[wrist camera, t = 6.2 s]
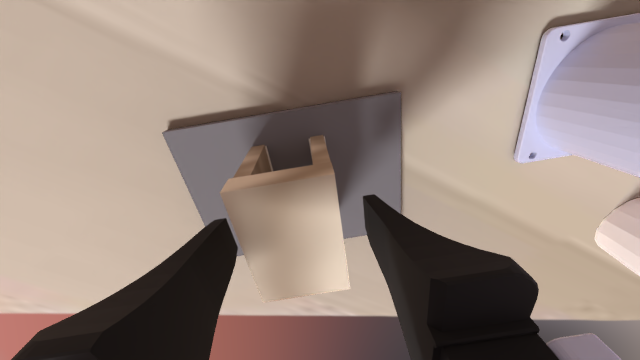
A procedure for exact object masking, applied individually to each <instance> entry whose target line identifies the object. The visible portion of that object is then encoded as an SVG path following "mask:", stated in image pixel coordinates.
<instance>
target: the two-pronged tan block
mask: <svg viewBox="0 0 640 360" xmlns="http://www.w3.org/2000/svg"><path fill="white" fill-rule="evenodd" d="M310 141H311V152H312V162H313V165H309V166H303V167H297V168H291V169H285V170H279V171H273V172H272V171H271V167H270V164H269V160H268V156H267V152H266V149H265V145H259V146H253V147H251V148H250V150H249V152H248V153H247V155H246V157H245V158H244V160H243V162H242V163H241V165H240V167H239V169H238V170H237V172H236V174H235V175H234V177H233V178H230V179H228V180H227V182H226V184H225V185H224V187H223V188H222V190H221V191H220V195H221V197H222V200H223V203H224V205H225V208H226V210H227V213H228V215H229V218H230V220H231V223H232V225H233V228H234V230H235V233H236V235H237V238H238V241H239V243H240V246H241V248H242V251H243V253H244V256H245V258H246V261H247V263H248V266H249V268H250V271H251V274H252V276H253V279H254V281H255V284H256V286H257V289H258V291H259V294H260V296H261V299H262V301H263V303H265V302H271V301H277V300H284V299H290V298H296V297H302V296H309V295H315V294H321V293H327V292H334V291H340V290H346V289H350V283H349V276H348V268H347V261H346V254H345V246H344V239H343V232H342V224H341V217H340V210H339V202H338V195H337V188H336V180H335V173H334V170H333V166H332V163H331V161H330V158H329V154H328V151H327V147H326V143H325V140H324V136H323V135H319V136H313V137H310Z"/></svg>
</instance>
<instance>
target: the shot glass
mask: <svg viewBox="0 0 640 360" xmlns="http://www.w3.org/2000/svg"><path fill="white" fill-rule="evenodd" d="M595 241H596V243H597V245H598V246H599V247H600V248H602V249H603V250H605V251H606V252H607V253H609V254H610V255H611V256H613V257H614V258H615V259H617V260H618V261H619V262H621V263H622V264H624V265H625V266H626V267H628V268H629V269H630V270H632V271H633V272H634V273H636V274H637V275H638V276H640V197H639V198H636V199H633V200H630V201H628V202H626V203H624V204H623V205H621V206H619V207H618V208H616V209H614V210H613V211H612V212H611V213H610V214H609V215H608V216H607V217H605V218H604V219H603V221H602V222H601V224H600V225H599V227H598V228H597V230H596V234H595Z"/></svg>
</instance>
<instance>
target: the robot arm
mask: <svg viewBox="0 0 640 360" xmlns="http://www.w3.org/2000/svg"><path fill="white" fill-rule="evenodd" d="M562 33H563V37H562V39H561V40H560V36H561V34H562ZM530 154H531V155H530ZM529 155H530V156H529ZM570 155H576V156H579V157H582V158H584V159H587V160H590V161H593V162H596V163H599V164H602V165H605V166H607V167H610V168H613V169H616V170H619V171H622V172H625V173H628V174H631V175H633V176H636V177H639V178H640V13H636V14H630V15H624V16H618V17H612V18H606V19H600V20H594V21H589V22H583V23H577V24H571V25H565V26H559V27H553V28H550V29H548V30H547V31H546V32H545V33H544V35H543V36H542V39H541V42H540V47H539V51H538V55H537V60H536V64H535V68H534V72H533V77H532V81H531V85H530V90H529V94H528V98H527V103H526V107H525V111H524V115H523V120H522V124H521V128H520V133H519V137H518V141H517V145H516V150H515V154H514V160H515V161H517V162H519V163H527V162H533V161H539V160H546V159H552V158H558V157H564V156H570ZM363 207H364V219H365V229H366V232H367V236H368V239H369V242H370V245H371V248H372V250H373V252H374V254H375V257H376V259H377V261H378V264H379V266H380V268H381V271H382V273H383V275H384V277H385V280H386V282H387V285H388V287H389V290H390V293H391V296H392V299H393V302H394V305H395V309H396V312H397V315H398V318H399V321H400V325H401V328H402V331H403V335H404V338H405V341H406V345H407V348H408V351H409V355H410V358H411V360H621V359H620V358H619V357H618V356H617V355H616V354H615V353H614V352H613V351H612V350H611V349H610V348H609V347H608V346H607V345H606V344H605V343H603V342H602V341H601V340H600V339H599V338H598V337H597V336H596V335H595V334H592V333H587V334H581V335H574V336H568V337H561V338H556V339H553V340H551V341H549V342H548V343H547V344H546V343H545V342H544V341H543V340H542V339H541V338H540V337H539V335H538V334H537V333H538V332H539V328H538V326H537V325H536V324H535V323H534V321H533V320H532V319H531V318H530V315H531V313H532V310H533V308H534V305H535V303H536V300H537V296H538V290H539V289H538V285H537V283H536V282H535V280H534V279H533V278H532V277H531V276H530V275H529V274H528V273H527V272H526V271H525V270H524V269H523V268H522V267H521V266H519V265H518V264H517V263H516V262H515V261H514V260H513V259H511V258H510V257H508V256H504V255H500V254H496V253H492V252H488V251H484V250H480V249H477V248H474V247H471V246H468V245H464V244H461V243H459V242H456V241H453V240H451V239H448V238H446V237H443V236H441V235H438V234H436V233H434V232H432V231H430V230H428V229H426V228H424V227H422V226H420V225H418V224H416V223H414V222H413V221H411V220H410V219H408V218H406V217H405V216H403V215H402V214H400V213H399V212H397V211H396V210H394V209H393V208H392V207H390V206H389V205H388V204H386V203H385V202H384V201H383V200H381V199H380V198H379V197H377V196H376V195H375V194H372V195H366V196H363ZM237 251H238V247H237V244H236V242H235V239H234V237H233V234H232V232H231V229H230V227H229V224H228V222H227V219H226V218H223V219H217V220H214V221H212V222H211V223H210V224H208V225H207V226H206V227H205V228H203V229H202V230H201V231H200V232H199V233H198V234H196V235H195V236H194V237H193V238H192V239H191V240H189V241H188V242H187V243H186V244H185V245H184V246H182V247H181V248H180V249H179V250H177V251H176V252H175V253H174V254H172V255H171V256H170V257H169V258H167V259H166V260H165V261H163V262H162V263H161V264H159V265H158V266H157V267H155V268H154V269H152V270H151V271H149V272H148V273H147V274H145V275H144V276H142V277H141V278H139V279H137V280H136V281H134V282H133V283H131V284H129V285H128V286H126V287H124V288H123V289H121V290H120V291H118V292H116V293H114V294H113V295H111V296H109V297H107V298H106V299H104V300H102V301H100V302H98V303H96V304H94V305H92V306H91V307H89V308H87V309H85V310H83V311H81V312H79V313H77V314H75V315H73V316H71V317H68V318H66V319H64V320H62V321H60V322H58V323H56V324H54V325H52V326H49V327H47V328H45V329H43V330H41V331H39V332H38V333H37V334H36V335H35V336H34V337H33V338H32V339H31V340H30V341H29V342H28V343H27V344H26V345H25V346H24V347H23V348H22V349H21V350H20V351H19V352H18V353H17V354H16V355H15V356H14V357H13V358H12V359H11V360H209V357H210V351H211V346H212V342H213V336H214V332H215V328H216V324H217V319H218V315H219V312H220V308H221V305H222V302H223V299H224V296H225V293H226V290H227V287H228V284H229V282H230V279H231V276H232V272H233V269H234V266H235V262H236V257H237Z"/></svg>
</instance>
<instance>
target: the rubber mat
mask: <svg viewBox="0 0 640 360" xmlns="http://www.w3.org/2000/svg"><path fill="white" fill-rule="evenodd" d="M162 134H163V136H164V138H165V140H166V142H167V145H168V147H169V149H170V151H171V153H172V155H173V158H174V160H175V162H176V164H177V166H178V168H179V171H180V173H181V175H182V177H183V179H184V181H185V184H186V186H187V188H188V190H189V192H190V194H191V197H192V199H193V201H194V203H195V205H196V207H197V210H198V212H199V214H200V216H201V218H202V220H203V223H204V225H205V227H206V226H207V225H208V224H210V223H211V222H212V221H214V220H217V219H223V218H226V219H227V222H228V224H229V227H230V229H231V232H232V234H233V237H234V239H235V242H236V244H237V247H238V251H237V256H241V255H244V253H243V251H242V248H241V246H240V243H239V241H238V238H237V235H236V233H235V230H234V228H233V225H232V223H231V220H230V218H229V215H228V213H227V210H226V208H225V205H224V203H223V200H222V197H221V195H220V191H221V190H222V188H223V187H224V185H225V184H226V182H227V180H228V179H230V178H233V177H234V175H235V174H236V172H237V170H238V169H239V167H240V165H241V163H242V162H243V160H244V158H245V157H246V155H247V153H248V152H249V150H250V148H251V147H253V146H259V145H265V149H266V152H267V156H268V160H269V164H270V167H271V171H272V172H273V171H279V170H285V169H291V168H297V167H303V166H309V165H313V162H312V152H311V141H310V137H313V136H319V135H323V136H324V140H325V143H326V147H327V151H328V154H329V158H330V161H331V163H332V166H333V170H334V173H335V180H336V188H337V195H338V202H339V210H340V217H341V224H342V232H343V239H345V238H352V237H358V236H364V235H367V232H366V229H365V219H364V207H363V196H366V195H372V194H375V195H376V196H377V197H379V198H380V199H381V200H383V201H384V202H385V203H386V204H388V205H389V206H390V207H392V208H393V209H394V210H396V211H397V212H399V213H400V214H401V92H398V91H396V92H390V93H384V94H378V95H372V96H366V97H360V98H354V99H348V100H343V101H337V102H331V103H325V104H319V105H313V106H307V107H301V108H295V109H289V110H283V111H277V112H271V113H265V114H259V115H253V116H247V117H241V118H235V119H230V120H224V121H218V122H212V123H206V124H200V125H194V126H188V127H182V128H176V129H170V130H166V131H164V132H162Z"/></svg>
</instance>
